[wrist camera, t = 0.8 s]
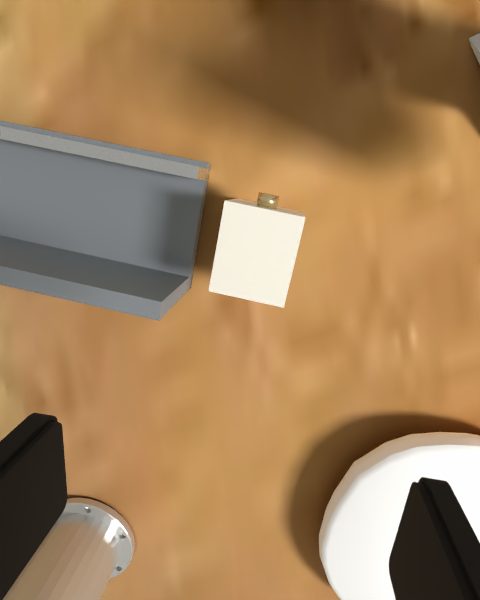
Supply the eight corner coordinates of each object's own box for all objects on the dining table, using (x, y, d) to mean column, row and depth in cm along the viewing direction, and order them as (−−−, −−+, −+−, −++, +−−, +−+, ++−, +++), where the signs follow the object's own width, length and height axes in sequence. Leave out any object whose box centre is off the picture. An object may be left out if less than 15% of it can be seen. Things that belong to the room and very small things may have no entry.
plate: (585, 666, 40) (329, 654, 44) (545, 597, 46) (324, 593, 50) (651, 466, 30) (310, 475, 34) (589, 412, 35) (306, 425, 40)
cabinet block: (283, 283, 37) (283, 307, 29) (224, 270, 37) (208, 290, 29) (303, 200, 34) (309, 203, 27) (239, 187, 35) (227, 186, 27)
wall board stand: (190, 287, 38) (159, 320, 28) (-14, 242, 39) (-111, 259, 29) (210, 163, 34) (182, 153, 25) (-15, 118, 35) (-126, 91, 26)
